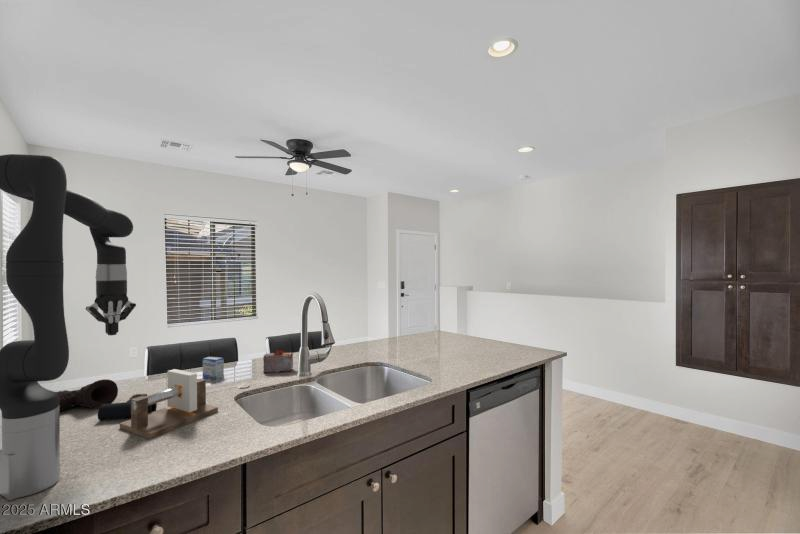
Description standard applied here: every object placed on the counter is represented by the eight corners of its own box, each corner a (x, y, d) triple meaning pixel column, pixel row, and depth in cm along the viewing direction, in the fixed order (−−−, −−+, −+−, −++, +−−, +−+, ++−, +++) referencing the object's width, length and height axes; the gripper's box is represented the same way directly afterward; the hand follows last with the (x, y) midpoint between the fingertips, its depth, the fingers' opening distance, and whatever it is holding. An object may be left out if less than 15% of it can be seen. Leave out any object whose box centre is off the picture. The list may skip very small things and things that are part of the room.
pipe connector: (116, 394, 127) (164, 390, 131) (116, 409, 127) (164, 405, 131) (97, 407, 116) (150, 402, 120) (97, 423, 116) (150, 418, 120)
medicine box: (202, 377, 162) (202, 358, 162) (210, 374, 166) (210, 356, 166) (216, 379, 160) (216, 359, 160) (224, 376, 164) (223, 357, 164)
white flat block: (189, 412, 117) (189, 375, 117) (167, 406, 123) (167, 370, 123) (197, 409, 119) (196, 373, 119) (174, 403, 125) (174, 369, 125)
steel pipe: (137, 411, 107) (137, 400, 107) (130, 409, 109) (130, 398, 109) (205, 388, 127) (205, 379, 127) (199, 387, 128) (199, 378, 128)
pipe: (41, 390, 125) (70, 386, 120) (89, 379, 139) (117, 376, 134) (42, 419, 123) (72, 416, 119) (91, 405, 138) (119, 402, 133)
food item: (294, 367, 177) (293, 347, 177) (292, 372, 170) (292, 351, 170) (264, 369, 175) (264, 349, 175) (262, 374, 167) (261, 353, 167)
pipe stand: (149, 438, 104) (149, 404, 104) (119, 428, 112) (119, 395, 112) (217, 411, 124) (217, 382, 124) (188, 403, 131) (188, 376, 131)
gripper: (92, 280, 104) (92, 339, 104) (141, 278, 116) (142, 332, 116) (79, 279, 107) (79, 337, 107) (129, 278, 119) (129, 330, 119)
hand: (112, 334), depth 112 cm, fingers closed
